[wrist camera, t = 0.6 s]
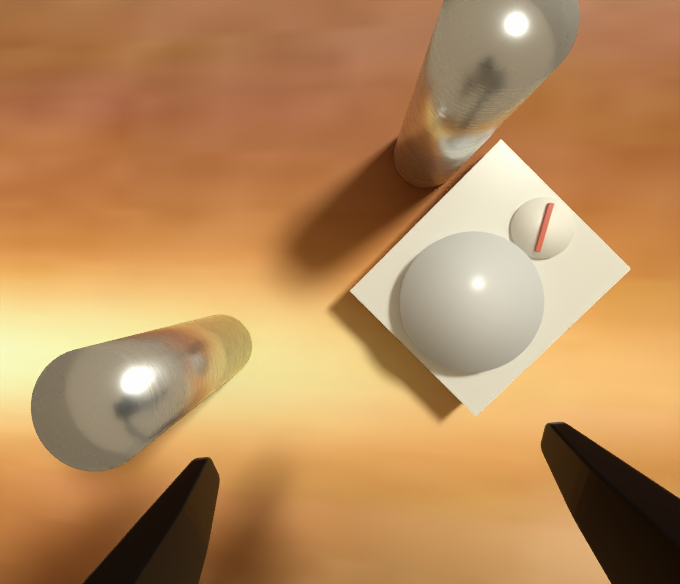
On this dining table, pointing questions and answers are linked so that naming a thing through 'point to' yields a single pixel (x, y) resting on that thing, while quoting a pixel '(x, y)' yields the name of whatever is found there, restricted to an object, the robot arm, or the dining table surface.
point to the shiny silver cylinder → (132, 389)
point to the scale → (489, 278)
